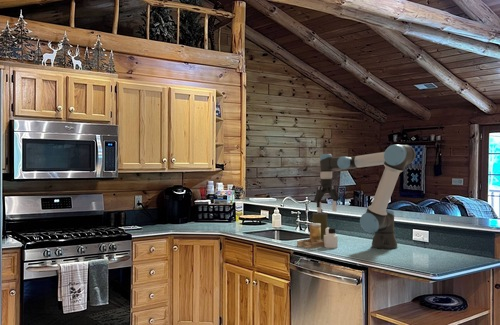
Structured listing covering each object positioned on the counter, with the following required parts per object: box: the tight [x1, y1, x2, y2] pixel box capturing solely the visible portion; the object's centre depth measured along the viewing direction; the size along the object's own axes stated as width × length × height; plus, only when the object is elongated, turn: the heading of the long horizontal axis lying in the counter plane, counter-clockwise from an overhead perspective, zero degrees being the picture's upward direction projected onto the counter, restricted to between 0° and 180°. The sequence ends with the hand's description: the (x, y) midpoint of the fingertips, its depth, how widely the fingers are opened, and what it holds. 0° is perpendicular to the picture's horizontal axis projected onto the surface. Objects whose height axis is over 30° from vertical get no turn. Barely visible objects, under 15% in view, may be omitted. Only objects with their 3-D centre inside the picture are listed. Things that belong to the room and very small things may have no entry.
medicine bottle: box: [323, 226, 338, 249], centre depth 298 cm, size 7×7×12 cm
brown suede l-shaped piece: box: [296, 222, 324, 249], centre depth 307 cm, size 16×21×12 cm
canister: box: [311, 208, 329, 240], centre depth 334 cm, size 11×10×20 cm
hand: (327, 211), depth 309 cm, fingers open, 13 cm apart
